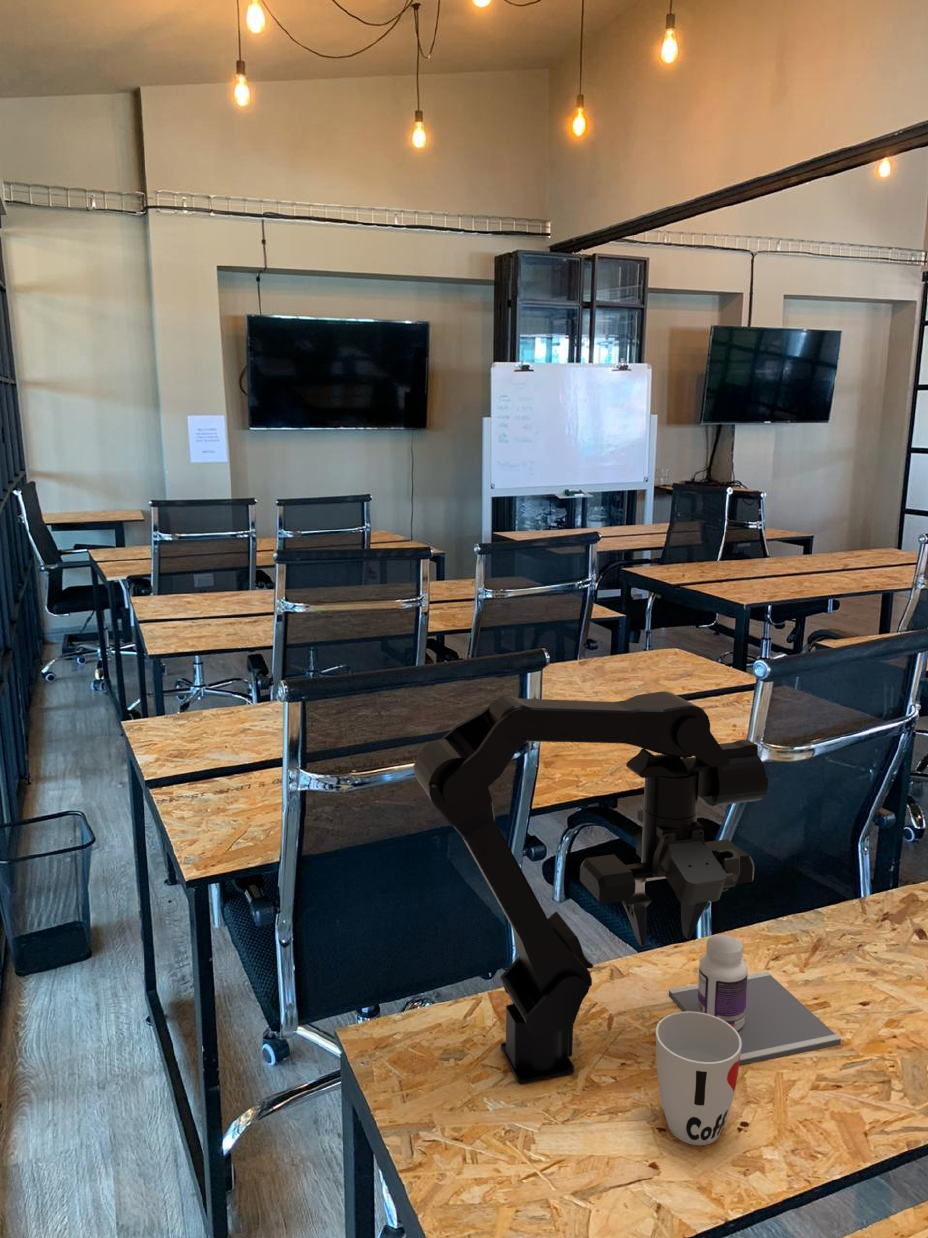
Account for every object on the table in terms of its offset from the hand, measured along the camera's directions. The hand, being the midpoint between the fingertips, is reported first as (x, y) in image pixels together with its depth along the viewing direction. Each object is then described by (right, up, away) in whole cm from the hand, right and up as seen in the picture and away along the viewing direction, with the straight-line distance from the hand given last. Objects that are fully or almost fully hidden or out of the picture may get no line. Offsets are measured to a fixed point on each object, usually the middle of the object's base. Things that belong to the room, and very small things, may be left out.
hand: (664, 940), depth 104 cm
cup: (0, -15, -12) cm, 19 cm away
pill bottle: (+8, -11, +4) cm, 14 cm away
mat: (+12, -11, +6) cm, 17 cm away
